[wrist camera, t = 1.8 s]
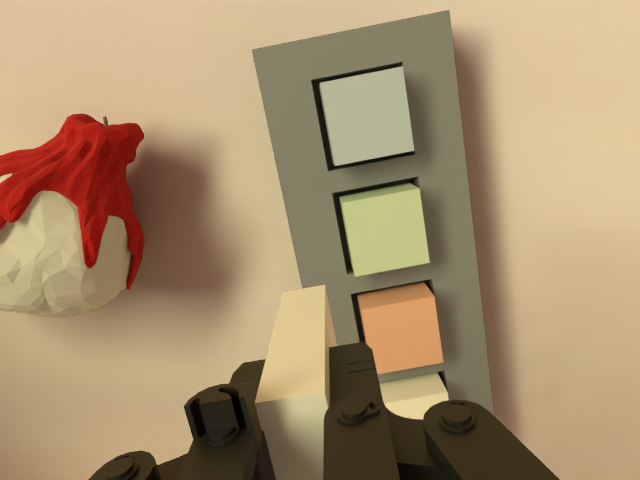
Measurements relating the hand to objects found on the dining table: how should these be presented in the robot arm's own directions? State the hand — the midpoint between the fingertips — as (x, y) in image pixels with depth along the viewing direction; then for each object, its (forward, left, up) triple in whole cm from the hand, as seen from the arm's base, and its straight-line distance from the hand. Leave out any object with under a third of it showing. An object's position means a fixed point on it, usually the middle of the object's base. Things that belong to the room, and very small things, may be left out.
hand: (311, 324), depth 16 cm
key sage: (+4, 0, -13) cm, 14 cm away
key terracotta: (+4, -6, -13) cm, 15 cm away
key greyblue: (+4, +7, -13) cm, 15 cm away
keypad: (+4, -3, -15) cm, 16 cm away
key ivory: (+4, -13, -13) cm, 19 cm away
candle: (-15, +4, -16) cm, 22 cm away
